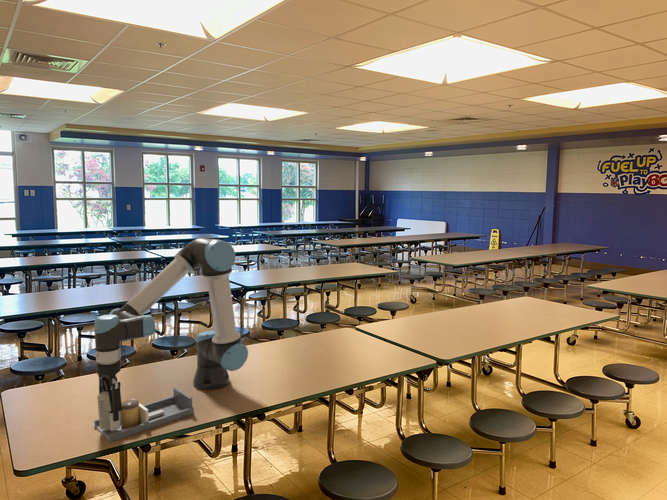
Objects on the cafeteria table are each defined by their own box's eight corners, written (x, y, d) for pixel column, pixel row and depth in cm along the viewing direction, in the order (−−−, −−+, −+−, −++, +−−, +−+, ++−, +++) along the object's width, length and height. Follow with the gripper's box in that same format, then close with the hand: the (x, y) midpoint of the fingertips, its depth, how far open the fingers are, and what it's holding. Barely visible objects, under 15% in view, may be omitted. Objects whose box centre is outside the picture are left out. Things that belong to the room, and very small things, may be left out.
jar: (117, 424, 167) (117, 403, 166) (135, 418, 172) (134, 398, 171) (124, 430, 163) (124, 408, 162) (142, 424, 167) (141, 403, 166)
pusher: (131, 415, 174) (131, 399, 173) (155, 407, 180) (155, 392, 179) (146, 427, 165) (145, 410, 164) (170, 418, 171) (170, 403, 170)
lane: (94, 426, 166) (93, 410, 165) (175, 401, 187) (174, 386, 186) (110, 442, 155) (109, 425, 155) (193, 414, 176) (193, 398, 176)
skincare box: (122, 423, 165) (121, 390, 163) (117, 429, 160) (116, 395, 159) (104, 423, 164) (102, 390, 163) (98, 429, 160) (96, 395, 159)
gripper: (86, 356, 164) (89, 418, 167) (107, 371, 150) (110, 439, 153) (109, 351, 169) (111, 412, 172) (131, 366, 155) (133, 432, 158)
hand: (111, 425), depth 162 cm, fingers closed on skincare box, 7 cm apart
